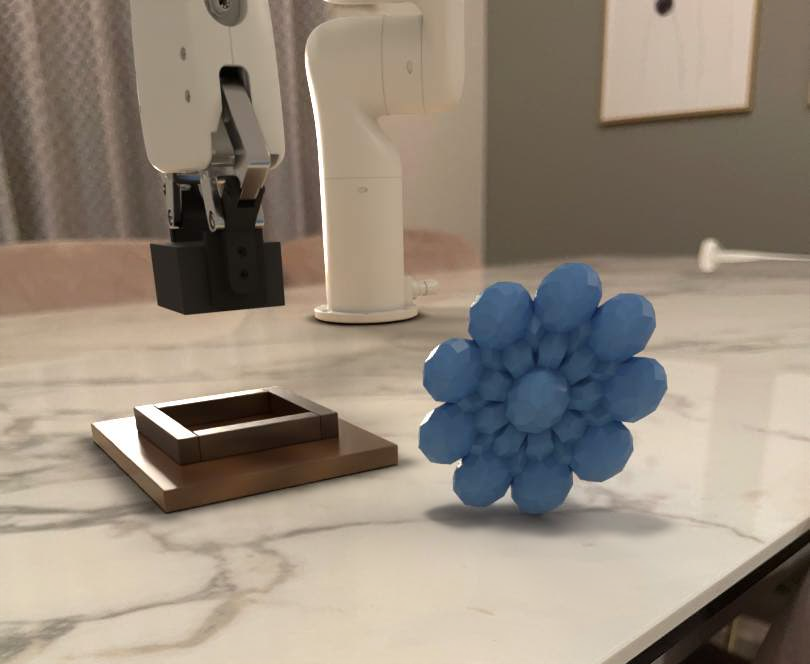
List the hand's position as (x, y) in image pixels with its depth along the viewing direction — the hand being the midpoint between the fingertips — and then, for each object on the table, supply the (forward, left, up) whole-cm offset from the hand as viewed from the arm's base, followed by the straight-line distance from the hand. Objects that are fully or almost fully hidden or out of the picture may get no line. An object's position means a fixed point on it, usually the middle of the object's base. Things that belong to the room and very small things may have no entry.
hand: (221, 298), depth 49 cm
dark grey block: (0, 0, 0) cm, 0 cm away
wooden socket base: (0, 0, -9) cm, 9 cm away
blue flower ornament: (-9, +18, -10) cm, 22 cm away
